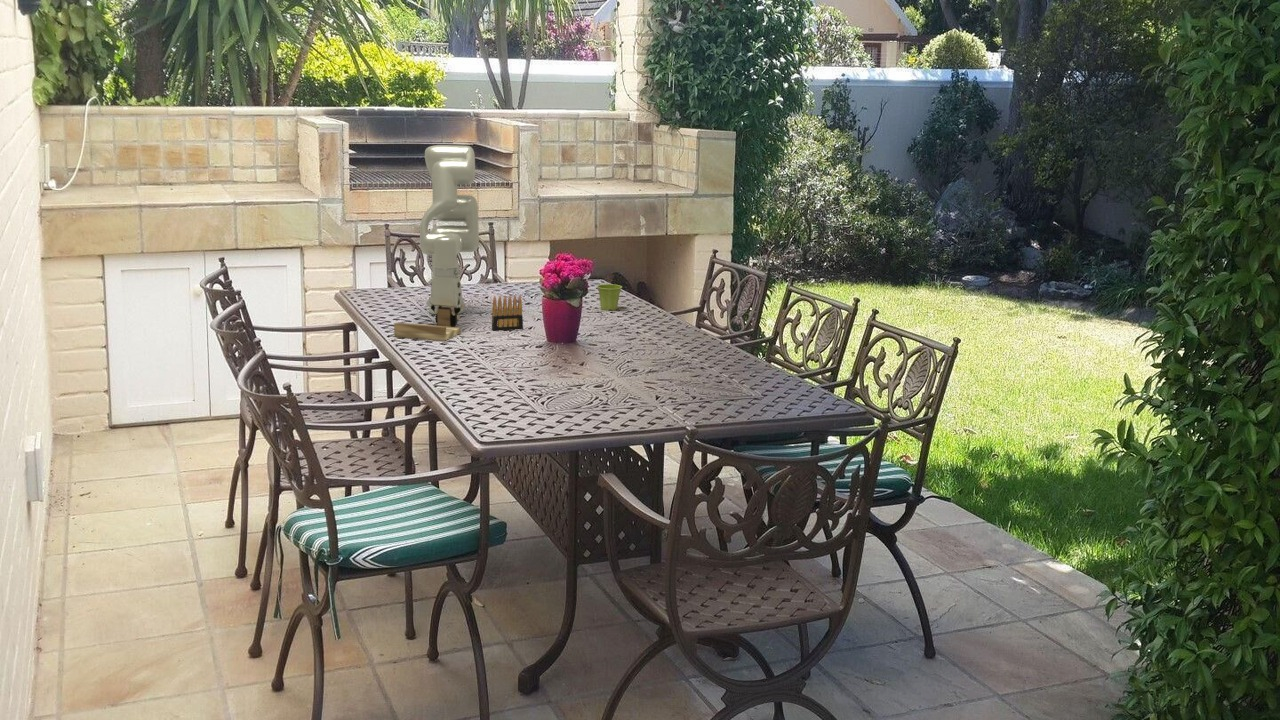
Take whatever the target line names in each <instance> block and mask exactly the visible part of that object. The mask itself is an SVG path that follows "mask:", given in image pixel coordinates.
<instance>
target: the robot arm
mask: <svg viewBox="0 0 1280 720" xmlns="http://www.w3.org/2000/svg"><path fill="white" fill-rule="evenodd" d="M424 160H425V165H426V168H427V170H428V173H429V177H431V183H432V188H431V189H432V204H431V206H429V207H428V209H427V210H426V212H424V214H423V216H422V217H421V221H420V224H419V247H420V250H421V253H423V254H424V255H427V256H428V255H430V256H431V259H432V260H431V261H432V265H431V267H432V269H431V270H432V280H431V285H430V286H431V287H430V297H429V298H428V300H427V301H426V303H425V304H426V305H427V306H428V307H429V308H428V313H430V314H432V315H435V323H436V326H438V323H437V309H439V308H441V307H450V308H451V313H452V315H451V327H454V326H455V327H456V326H457V325H458V321H457V316H458V315H461V314H463V313H464V312H465V308H466V307H467V304H466V302H465V301H464V300H463V289H462V284H461V283H462V282H461V278H460V274H461V273H462V272H461V270H460V264H459V261H458V260H457V259H458V254H459V253H472V252H473V253H474V252H476V251H477V250H478V248H479V243H480V241H479V239H480V235H479V234H480V233H479V231H480V229H479V206H478V205H479V203H478V202H477V199H476V197H475V196H473V195H468V194H466V195H463V194H461V195H460V194H458V185H471V184H473V183H474V181H475V176H476V156H475V150H474V148H472V146H470V145H455V144H454V145H450V144H447V145H446V144H437V145H430V146H428V147H426V148H425V151H424ZM433 219H435V220H437V221H439V222H448V223H449V222H451V223H453V222H455V223H457V222H458V223H460V222H461V223H465V225H454V224H453V225H450V224H449V225H448V224H447V225H443V224H442V225H436V226H434V227H432V228H431V230H430V231H429V225H430V223H431V221H432V220H433Z"/></svg>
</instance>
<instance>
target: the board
mask: <svg viewBox="0 0 1280 720" xmlns="http://www.w3.org/2000/svg"><path fill="white" fill-rule="evenodd" d="M393 325H394V326H393V330H394V332H393V335H394V338H402V337H406V339H414V338H418V339H417V340H425V339H428V340H427V341H436V340H437V341H438V342H446V341H448V340H449V338H450V339H452V338H454V337H456V336H455V335H457V334H459V333H461V334H462V332H461V331H462V329H461V328H462V327H456V326H455V327H446V326H437V325H432V324H423V323H422V324H421V323H405V322H404V323H403V322H395V323H393ZM459 335H460V334H459ZM453 336H454V337H453ZM457 336H458V335H457ZM447 339H448V340H447ZM445 340H446V341H445Z"/></svg>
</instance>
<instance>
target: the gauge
mask: <svg viewBox="0 0 1280 720" xmlns="http://www.w3.org/2000/svg"><path fill="white" fill-rule="evenodd" d="M451 315H452V313H451V308H450V307H441V308H439V309H437V323H438V326H446V327H451ZM459 320H460V315H457V322H458V321H459ZM437 323H436V324H437ZM454 327H456V326H454Z"/></svg>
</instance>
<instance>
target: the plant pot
mask: <svg viewBox="0 0 1280 720" xmlns="http://www.w3.org/2000/svg"><path fill="white" fill-rule="evenodd" d="M596 288H597V291H598V293H599V295H598V296H599V305H600V310H603V311H615V310H618V307H619V299H620V292H621V291H622V289H623V286H622V285H618V284H613V283H611V284H608V283H607V284H605V283H604V284H603V283H602V284H598V285H597V286H596Z"/></svg>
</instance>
